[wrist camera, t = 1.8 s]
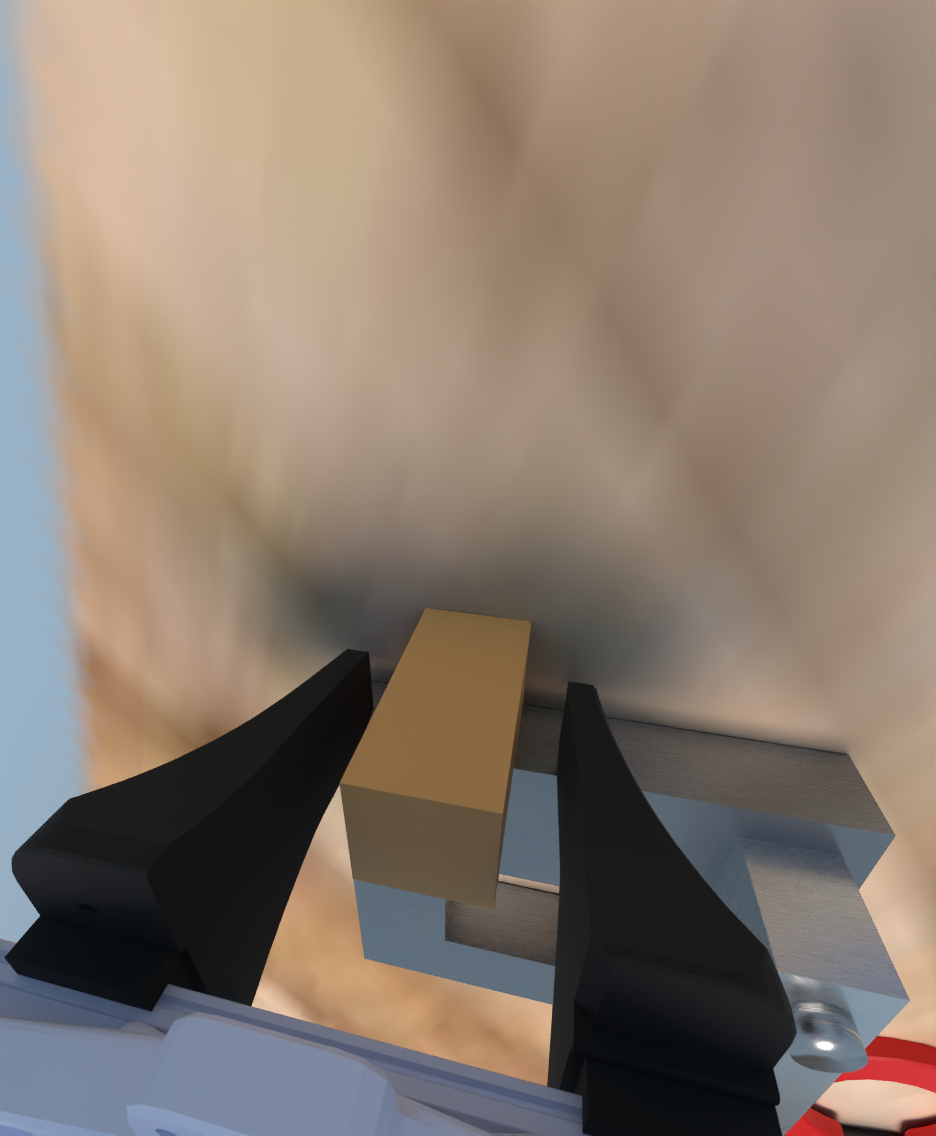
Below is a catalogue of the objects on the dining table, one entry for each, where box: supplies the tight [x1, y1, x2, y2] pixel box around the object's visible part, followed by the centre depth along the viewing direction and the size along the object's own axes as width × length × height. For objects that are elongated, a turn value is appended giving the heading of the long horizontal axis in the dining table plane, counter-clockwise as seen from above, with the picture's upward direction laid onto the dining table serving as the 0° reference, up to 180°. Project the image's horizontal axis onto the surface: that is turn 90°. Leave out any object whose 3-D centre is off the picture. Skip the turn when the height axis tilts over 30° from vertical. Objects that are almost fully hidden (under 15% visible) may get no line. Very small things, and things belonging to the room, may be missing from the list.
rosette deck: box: [354, 681, 910, 1136], centre depth 15 cm, size 14×12×6 cm
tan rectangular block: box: [340, 608, 531, 910], centre depth 12 cm, size 3×3×6 cm
